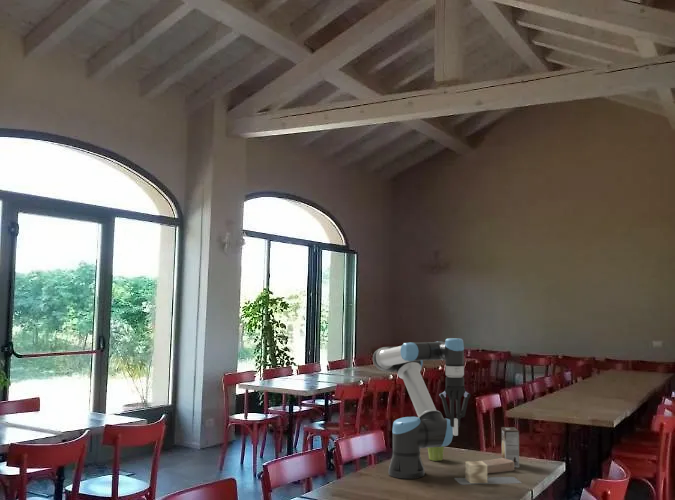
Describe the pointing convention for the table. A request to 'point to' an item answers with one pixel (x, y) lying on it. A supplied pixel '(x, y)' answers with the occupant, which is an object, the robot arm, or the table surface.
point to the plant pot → (435, 453)
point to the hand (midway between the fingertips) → (455, 434)
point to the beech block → (476, 471)
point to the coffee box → (510, 444)
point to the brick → (499, 465)
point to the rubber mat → (491, 480)
